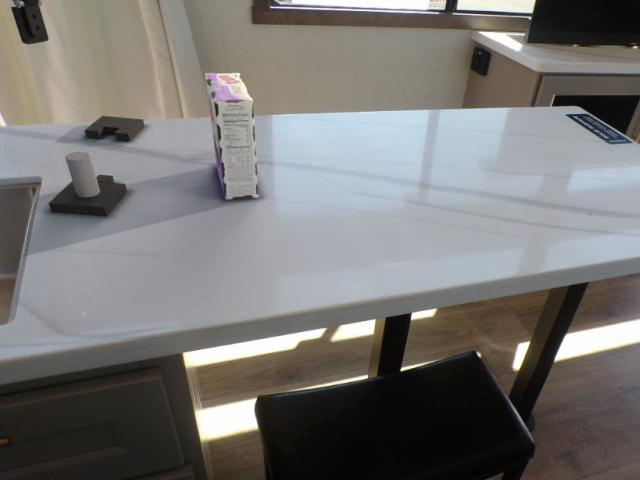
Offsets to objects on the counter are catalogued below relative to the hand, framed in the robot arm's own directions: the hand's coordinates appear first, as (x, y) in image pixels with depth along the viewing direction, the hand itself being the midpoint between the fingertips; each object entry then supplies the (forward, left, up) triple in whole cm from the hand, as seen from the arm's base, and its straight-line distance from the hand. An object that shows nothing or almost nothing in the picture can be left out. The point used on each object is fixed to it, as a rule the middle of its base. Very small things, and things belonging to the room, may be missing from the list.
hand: (7, 35), depth 65 cm
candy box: (+24, +12, -24) cm, 36 cm away
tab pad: (+4, +2, -24) cm, 24 cm away
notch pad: (-3, +29, -24) cm, 38 cm away
